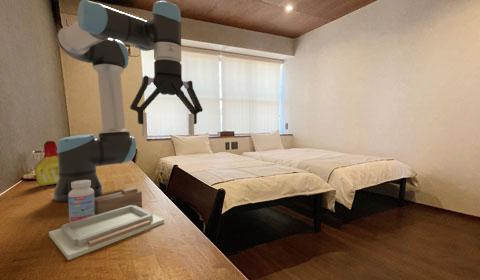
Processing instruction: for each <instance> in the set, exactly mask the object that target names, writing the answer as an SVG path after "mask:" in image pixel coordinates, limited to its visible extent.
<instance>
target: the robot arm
mask: <svg viewBox="0 0 480 280" xmlns="http://www.w3.org/2000/svg"><path fill="white" fill-rule="evenodd" d="M151 12H152V17H150V18H149V19H148V20H145V19H143V18H139V17H136V16H133V15H131V14H128V13H125V12H122V11H119V10H117V9H115V8H111V7H110V6H106V5H103V4H102V3H100V2H94V1H90V0H81V1H80V2H79V4H78V7H77V12H76V13H77V17H76V19H77V20H76V22H74V23H73V24H72V25H66V26H63V27H62V28H61V29H60V30H58V32H57V33H56V43H57V44H58V46H59V48H60V49H61V50H62V52H64V53H65V54H66V55H68V56H69V57H70V58H72V59H75V60H77V61H80V62H84V63H89V64H92V69H93V71H95V72H96V73H97V81H98V91H99V105H100V115H101V126H102V129H101V130H100V131H99V132H98V137H96V136H95V134H93V133H92V134H91V133H88V134H78V135H73V136H67V137H61V138H60V139H58V141H57V142H56V146H57V153H58V168H59V180H58V183H57V184H56V187H55V189H54V192H53V200H54V201H55V202H63V203H65V202H67V203H69V201H68V194H69V192H70V191H71V190H73V188H71V182H74V181H79V180H91V186H90V188H92V189H93V190H94V198H95V197H98V196H99V195H101V194H102V193H103V186H102V183H101V181H100V179H99V177H98V174H97V167H99V166H100V167H102V166H110V165H117V164H119V165H121V164H123V163H124V164H125V163H129V162H131V161H132V160H133V158H135V155H136V152H137V142H136V139H135V137H134V136H133V135H130V133H131V132H130V131H129V130H128V129H127V128H126V121H125V120H126V119H125V110H124V97H123V87H122V86H123V85H122V76H121V75H122V74H123V72H125V69H127V67H128V66H129V52H128V48H127V47H126V45H125V43H127V44H132V45H134V46H135V47H136V48H138V49H139V50H140V51H143V52H149V51H153V59H154V62H153V66H154V67H153V69H154V70H153V71H154V73H153V74H154V76H153V77H149V76H148V75H144V76H143V77H142V78H141V86H140V87H139V89H138V91H137V93H136V95H135V97H134V99H133V100H132V102H131V104H130V106H129V109H130V110H132V111H135V112H136V113H137V123H138V125H141V131H142V132H141V133H142V135H141V137H148V126H147V125H148V124H147V123H148V122H147V121H148V120H147V119H148V118H147V112H144V111H145V110H146V109H147V107H148V106H149V105H151V103H152V102H153V101H154V100H155V99H156V98H157V96H159V95H160V94H161V95H164V96H165V95H169V96H175V95H176V97H177V98H178V99H179V100H180V101H181V102H182V104H183V105H184V106H185V107H186V108H187V110H188V111H189V112H190V113H188V135H189V136H195V125H197V122H198V117H197V116H198V114H199V113H201V112H203V111H204V110H203V107H202V105H201V103H200V100H199V99H198V96H197V94H196V91H195V90H194V86H193V81H192V80H188V81H183V78H182V76H183V73H182V71H183V69H182V67H183V66H182V63H181V62H182V17H181V16H182V15H181V14H182V13H181V10H180V8H179V6H178V5H177V4H175V3H172V2H171V1H167V0H160V1H159V0H158V1H156V2H154V3H153V5H152V11H151ZM123 42H124V43H123ZM151 83H152V84H153V85H154V87H155V89H154V90H153V92H152V93H151V94H150V95H149V96H148V97H147V98H146V99H145V101H143V103H142V104H141V105H139V103H140V101H141V100H142V98H143V96H144V94H145V92H146V90H147V88H148V87H149V86H150V85H151ZM183 87H184V88H185V89H186V93H187V94H188V97H189V98H190V100H189V98H188V97H187V96H186V94H185V93H184V91H183V90H182V88H183ZM138 105H139V106H138Z"/></svg>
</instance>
